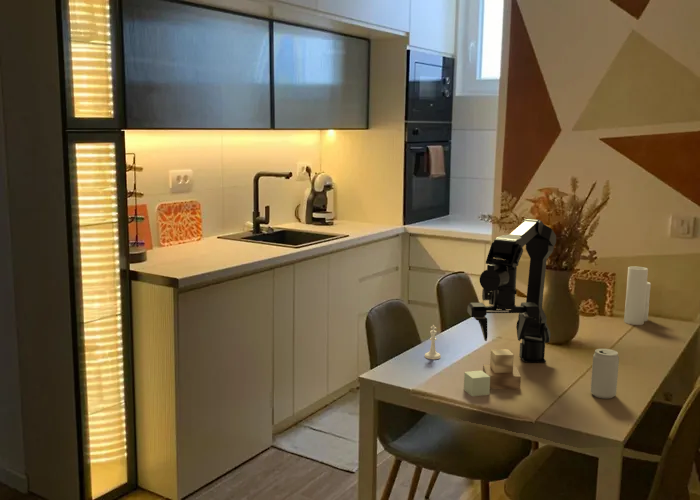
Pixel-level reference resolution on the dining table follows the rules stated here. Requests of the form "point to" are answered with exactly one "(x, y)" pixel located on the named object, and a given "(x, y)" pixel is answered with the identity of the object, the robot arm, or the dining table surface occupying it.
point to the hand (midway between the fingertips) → (502, 340)
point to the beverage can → (604, 373)
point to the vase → (637, 296)
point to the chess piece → (432, 346)
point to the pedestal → (503, 378)
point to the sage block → (476, 383)
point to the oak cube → (501, 361)
